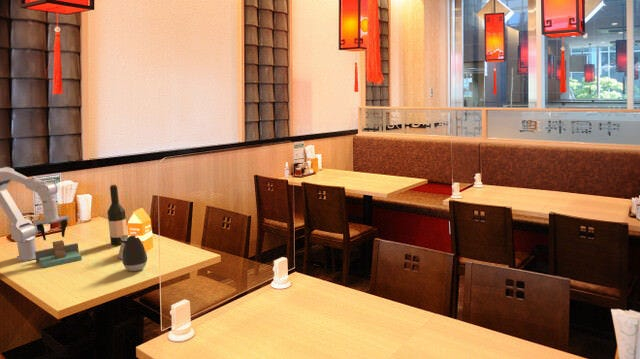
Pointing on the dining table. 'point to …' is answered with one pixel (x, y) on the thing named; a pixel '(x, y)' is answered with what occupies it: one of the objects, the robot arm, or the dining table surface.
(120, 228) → the wine bottle
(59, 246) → the walnut block
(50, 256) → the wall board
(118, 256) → the flask
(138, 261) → the black egg shape
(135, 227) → the orange juice
